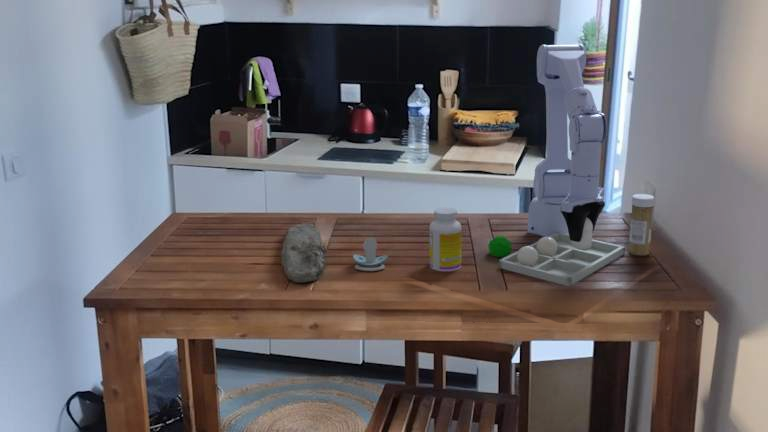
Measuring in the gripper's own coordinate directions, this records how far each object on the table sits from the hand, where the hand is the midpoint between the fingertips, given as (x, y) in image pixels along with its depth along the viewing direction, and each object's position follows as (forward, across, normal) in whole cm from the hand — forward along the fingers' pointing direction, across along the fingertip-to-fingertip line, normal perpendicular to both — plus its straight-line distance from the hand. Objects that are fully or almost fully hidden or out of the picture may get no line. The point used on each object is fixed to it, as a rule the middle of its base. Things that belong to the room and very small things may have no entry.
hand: (581, 237), depth 163 cm
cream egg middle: (+6, 0, +8) cm, 10 cm away
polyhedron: (+7, -5, +16) cm, 18 cm away
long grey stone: (+7, -31, +51) cm, 60 cm away
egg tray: (+7, 0, +4) cm, 8 cm away
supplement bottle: (+7, -18, +21) cm, 29 cm away
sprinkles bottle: (+7, +15, -6) cm, 18 cm away
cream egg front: (+6, -8, +8) cm, 13 cm away
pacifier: (+7, -27, +35) cm, 44 cm away
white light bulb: (+2, 0, 0) cm, 2 cm away
